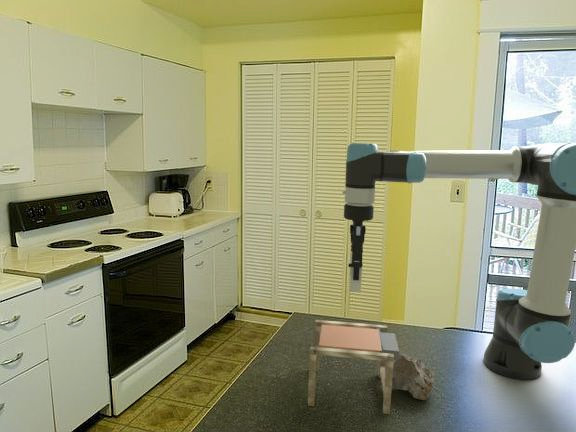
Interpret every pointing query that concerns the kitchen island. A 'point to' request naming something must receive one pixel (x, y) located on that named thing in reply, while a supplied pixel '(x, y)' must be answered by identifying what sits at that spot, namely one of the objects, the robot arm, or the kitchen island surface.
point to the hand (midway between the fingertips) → (354, 283)
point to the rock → (412, 377)
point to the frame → (382, 357)
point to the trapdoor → (358, 339)
